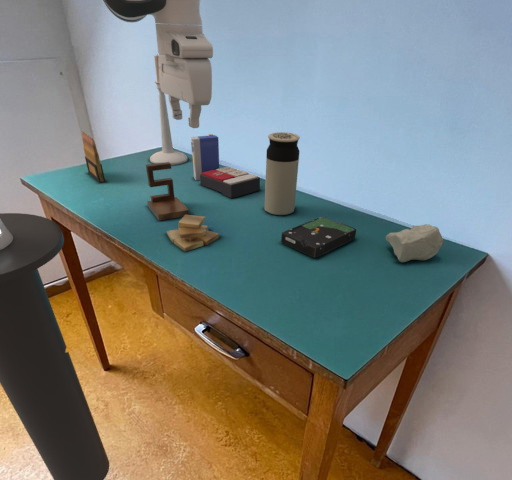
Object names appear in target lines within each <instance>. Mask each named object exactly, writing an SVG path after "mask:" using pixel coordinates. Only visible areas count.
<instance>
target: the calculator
mask: <svg viewBox="0 0 512 480" xmlns="http://www.w3.org/2000/svg"><path fill="white" fill-rule="evenodd" d="M199 182H200V185H201V186H202V187H205V188H208V189H210V190H211V189H212V190H214V191H217V192H219V193H221V194H222V195H223V196H224V197H227V198H230V199H235V198H238V197H241V196H244V195H248V194H252V193H254V192H258V191H260V190H261V177H260V176H258V175H255V174H251V173H249V172H248V171H244V170H240V169H237V168H234V167H230V166H224V167H219V169H216V170H211V171H207V172H202V174H200V180H199Z"/></svg>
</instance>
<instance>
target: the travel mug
mask: <svg viewBox="0 0 512 480" xmlns="http://www.w3.org/2000/svg"><path fill="white" fill-rule="evenodd" d="M267 137H268V141H269V145H268V146H267V148H266V156H265V157H266V158H265V159H266V160H265V180H264V181H265V182H264V183H265V185H264V186H265V187H264V211H265V212H267V213H269V214H271V215H275V216H287V215H289V214H292V213H294V211H295V208H296V196H297V195H296V194H297V184H298V172H299V163H300V149H299V147H298V144H299V140H300V135H298V134H296V133H292V132H286V131H285V132H282V131H281V132H280V131H279V132H278V131H277V132H272V133H270V134H268V135H267Z"/></svg>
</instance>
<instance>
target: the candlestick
mask: <svg viewBox="0 0 512 480" xmlns="http://www.w3.org/2000/svg"><path fill="white" fill-rule="evenodd" d="M153 56H154V57H153V58H154V65H155V67H154V68H155V75H156V81H154V83H155V84H156V89H157V90H158V104H159V105H158V106H159V118H160V132H161V133H160V135H161V147H162V148H161V150H160V151H157V152H154V153H153V154H152V155H150V157H149V161H150V163H151V164H156V163H165V162H169V163H171V166H176V165H182V164H184V163H187V161H188V156H187V155H186V154H185V153H183V152H182V151H178V150H174V146H173V140H172V133H171V132H172V131H171V126H170V120H169V113H168V107H167V100H166V94H165V93H163V92H162V91H161V88H160V84H159V68H158V57H159V53H157V54H155V55H153Z"/></svg>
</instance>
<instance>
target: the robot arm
mask: <svg viewBox="0 0 512 480" xmlns="http://www.w3.org/2000/svg"><path fill="white" fill-rule="evenodd" d="M102 1H103V3H104V5H105V6H106V8H107V9H108V10H109V12H111V14H112V15H114V17H116V18H117V19H119V20H120V21H123V22H126V23H138V22H140V21H143V19H145V18H146V17H147V16H152V17H153V18H154V23H155V35H156V43H157V54H158V56H159V57H158V68H159V84H160V88H161V91H162V92H163V93H164V94H165V95H167V96H168V102H169V104H170V109H171V115H172V118H173V119H174V120H176V121H180V120H181V121H182V119H183V110H182V109H181V104H180V101H183V102H184V103H187V104H188V109H189V117H187V119H188V126H189V127H190V128H191V129H198V128H200V116H201V113H202V106H209V105H210V103H211V101H212V95H213V90H212V89H213V70H212V68H213V67H212V62H211V60H210V59H212V58H213V57H214V48H213V47H214V46H213V44H212V43H211V42H210V41H209V40H208V38H207V37H206V36H205V34H204V33H203V20H202V18H201V12H200V3H201V0H102ZM12 241H13V235H12V234H11V233H10V232H9V230H8V229H7V228H6V226H5V225H4V223H3V222H2V220H1V218H0V250H2V249H3V248H5V247H7V246H8V245H9V244H10V243H11V242H12Z"/></svg>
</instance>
